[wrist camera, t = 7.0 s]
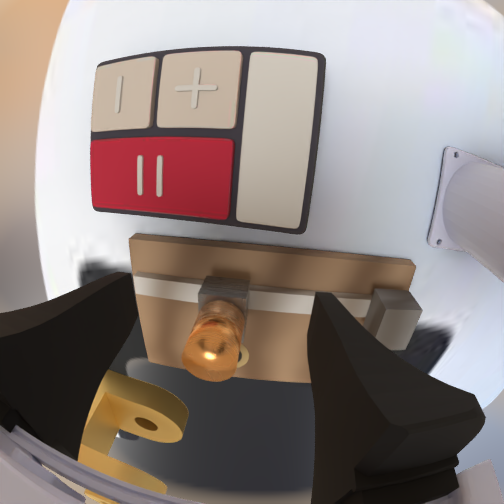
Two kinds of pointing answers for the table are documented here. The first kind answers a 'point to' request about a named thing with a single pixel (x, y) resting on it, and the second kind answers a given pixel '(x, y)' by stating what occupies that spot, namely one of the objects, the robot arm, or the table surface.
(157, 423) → the yellow clevis bracket
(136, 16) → the table surface
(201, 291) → the slider leg
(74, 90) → the table surface
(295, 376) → the board
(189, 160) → the button panel
